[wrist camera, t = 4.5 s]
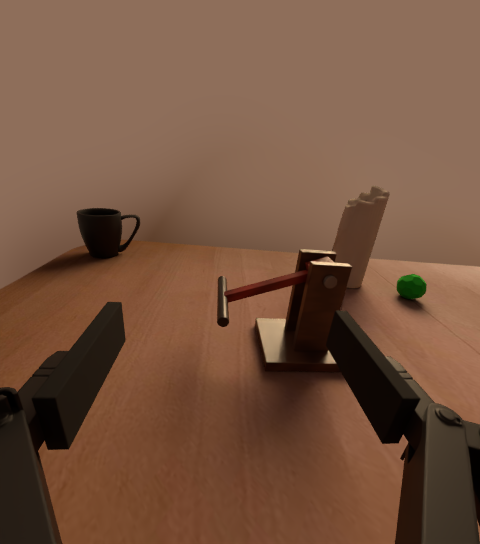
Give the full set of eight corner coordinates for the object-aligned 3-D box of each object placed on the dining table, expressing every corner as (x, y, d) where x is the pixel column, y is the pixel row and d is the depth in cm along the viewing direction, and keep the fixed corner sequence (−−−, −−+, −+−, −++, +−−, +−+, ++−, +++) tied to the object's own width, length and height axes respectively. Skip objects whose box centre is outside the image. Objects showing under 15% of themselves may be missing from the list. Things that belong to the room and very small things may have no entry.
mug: (142, 259, 57) (139, 216, 53) (80, 261, 53) (72, 215, 49) (141, 247, 64) (139, 209, 60) (86, 248, 60) (80, 207, 56)
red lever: (220, 333, 26) (214, 314, 26) (220, 288, 36) (215, 273, 35) (353, 298, 26) (351, 277, 25) (318, 262, 35) (316, 246, 34)
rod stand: (264, 371, 30) (281, 269, 25) (254, 325, 38) (266, 242, 33) (362, 372, 31) (397, 276, 26) (332, 327, 39) (354, 248, 34)
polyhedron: (414, 293, 54) (422, 272, 52) (426, 305, 49) (435, 283, 47) (389, 289, 54) (396, 269, 52) (398, 301, 50) (407, 278, 48)
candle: (294, 270, 59) (311, 179, 51) (352, 275, 60) (378, 185, 52) (301, 284, 53) (323, 181, 45) (367, 289, 53) (399, 189, 45)
